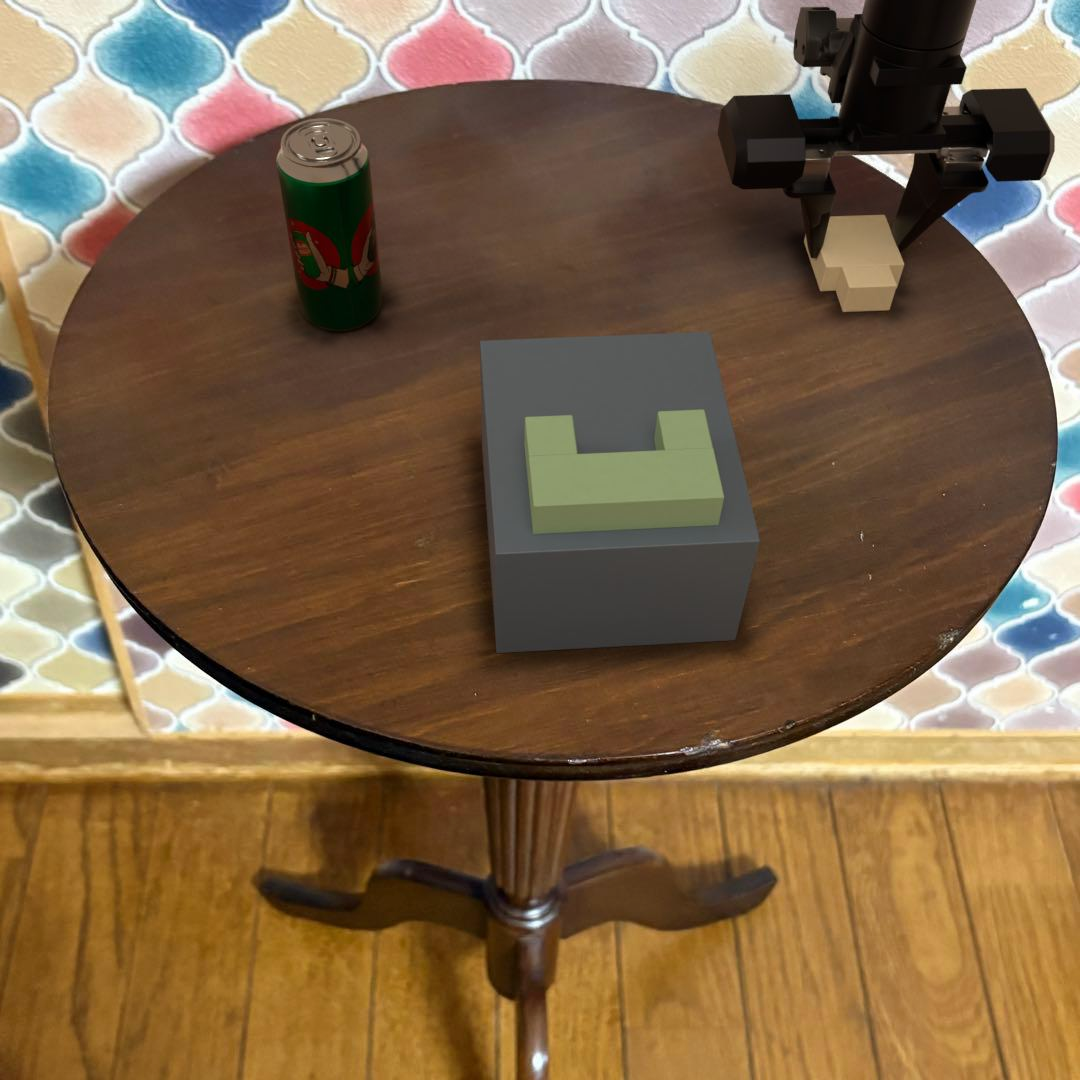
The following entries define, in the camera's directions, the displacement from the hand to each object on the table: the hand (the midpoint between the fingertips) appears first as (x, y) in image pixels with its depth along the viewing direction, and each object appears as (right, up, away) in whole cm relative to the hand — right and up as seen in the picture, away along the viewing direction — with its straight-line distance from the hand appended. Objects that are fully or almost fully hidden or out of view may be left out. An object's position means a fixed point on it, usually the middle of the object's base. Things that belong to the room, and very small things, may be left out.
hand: (853, 252), depth 82 cm
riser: (-17, -18, -14) cm, 28 cm away
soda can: (-32, -4, -3) cm, 33 cm away
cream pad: (0, -1, +1) cm, 1 cm away
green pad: (-16, -16, -22) cm, 31 cm away
